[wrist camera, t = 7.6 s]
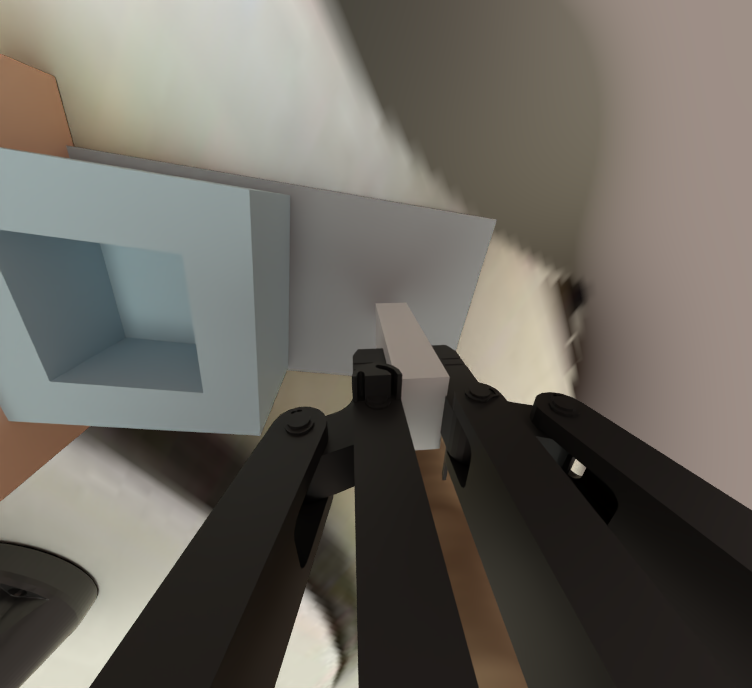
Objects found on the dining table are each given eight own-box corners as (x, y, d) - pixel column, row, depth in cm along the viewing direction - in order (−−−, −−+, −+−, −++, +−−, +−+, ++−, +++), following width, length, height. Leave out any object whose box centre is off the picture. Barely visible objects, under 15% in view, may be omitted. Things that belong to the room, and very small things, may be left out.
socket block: (118, 351, 17) (8, 421, 11) (61, 157, 12) (-161, 121, 7) (288, 367, 18) (260, 435, 13) (290, 195, 14) (249, 189, 8)
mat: (95, 349, 17) (90, 352, 17) (24, 138, 13) (15, 136, 12) (443, 380, 20) (445, 384, 20) (493, 219, 16) (496, 219, 15)
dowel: (378, 433, 22) (440, 1018, 6) (387, 392, 21) (501, 1060, 5) (426, 436, 23) (596, 983, 7) (438, 397, 21) (705, 1010, 5)
